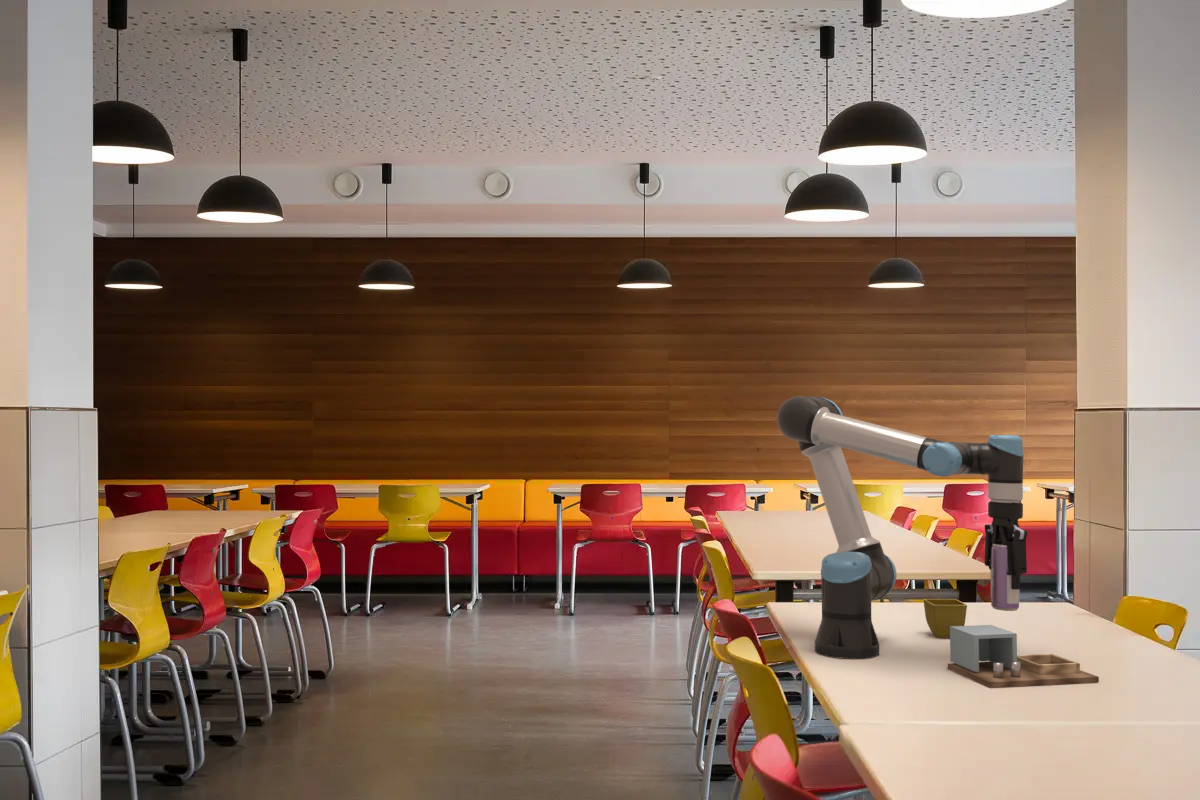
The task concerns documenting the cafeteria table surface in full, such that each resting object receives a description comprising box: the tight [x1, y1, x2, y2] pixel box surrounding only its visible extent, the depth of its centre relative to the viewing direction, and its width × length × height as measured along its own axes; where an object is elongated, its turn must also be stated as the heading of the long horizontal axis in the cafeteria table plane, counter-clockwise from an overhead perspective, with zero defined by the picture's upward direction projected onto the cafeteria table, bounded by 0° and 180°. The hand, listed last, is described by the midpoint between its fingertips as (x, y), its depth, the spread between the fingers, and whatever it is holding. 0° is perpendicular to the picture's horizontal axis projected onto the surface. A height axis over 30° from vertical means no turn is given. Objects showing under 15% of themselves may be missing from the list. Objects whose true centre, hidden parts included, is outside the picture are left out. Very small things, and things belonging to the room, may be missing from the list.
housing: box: [949, 624, 1018, 672], centre depth 217 cm, size 10×10×8 cm
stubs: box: [993, 661, 1021, 678], centre depth 208 cm, size 6×2×3 cm, turn 100°
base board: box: [946, 653, 1100, 689], centre depth 214 cm, size 25×17×3 cm
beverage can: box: [990, 543, 1020, 612], centre depth 229 cm, size 6×6×15 cm
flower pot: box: [923, 598, 968, 639], centre depth 256 cm, size 9×9×9 cm
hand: (1004, 600), depth 229 cm, fingers closed on beverage can, 6 cm apart
